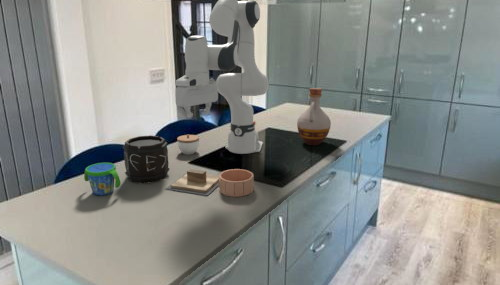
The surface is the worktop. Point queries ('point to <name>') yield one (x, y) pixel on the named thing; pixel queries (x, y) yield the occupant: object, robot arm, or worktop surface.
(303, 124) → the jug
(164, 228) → the worktop surface
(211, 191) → the mat
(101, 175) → the snack cup
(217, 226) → the worktop surface
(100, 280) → the worktop surface
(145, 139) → the wooden barrel
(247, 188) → the bowl
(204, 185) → the lid
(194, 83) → the robot arm
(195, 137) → the lidded jar
